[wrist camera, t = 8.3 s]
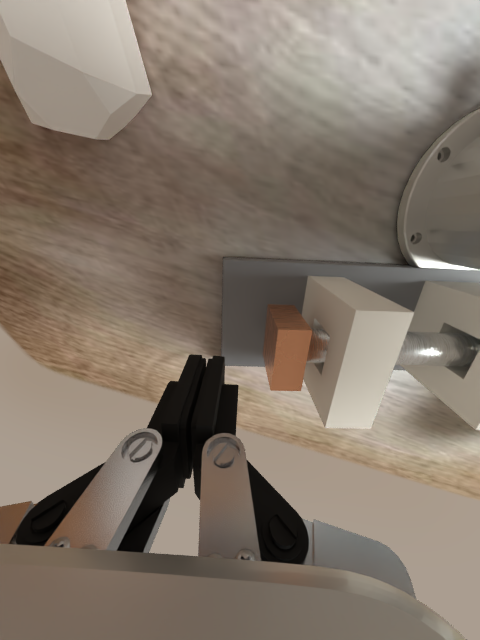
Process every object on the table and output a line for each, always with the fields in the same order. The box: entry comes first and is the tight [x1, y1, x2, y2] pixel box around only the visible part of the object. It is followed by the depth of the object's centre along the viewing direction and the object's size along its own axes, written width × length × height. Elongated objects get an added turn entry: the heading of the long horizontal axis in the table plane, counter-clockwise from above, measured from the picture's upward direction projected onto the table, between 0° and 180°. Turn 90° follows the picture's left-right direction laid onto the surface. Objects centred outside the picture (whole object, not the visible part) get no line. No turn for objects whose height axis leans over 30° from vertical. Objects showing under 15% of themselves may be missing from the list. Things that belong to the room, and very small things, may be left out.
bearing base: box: [221, 257, 480, 430], centre depth 17 cm, size 24×10×10 cm, turn 87°
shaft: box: [263, 304, 480, 391], centre depth 16 cm, size 20×4×4 cm, turn 87°
